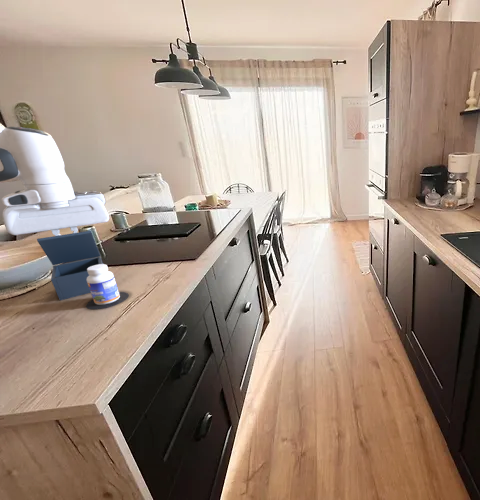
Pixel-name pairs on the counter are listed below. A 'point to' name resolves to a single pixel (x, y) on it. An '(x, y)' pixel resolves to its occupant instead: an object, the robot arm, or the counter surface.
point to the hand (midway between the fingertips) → (70, 243)
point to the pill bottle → (102, 284)
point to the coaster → (94, 306)
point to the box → (72, 278)
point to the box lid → (69, 247)
